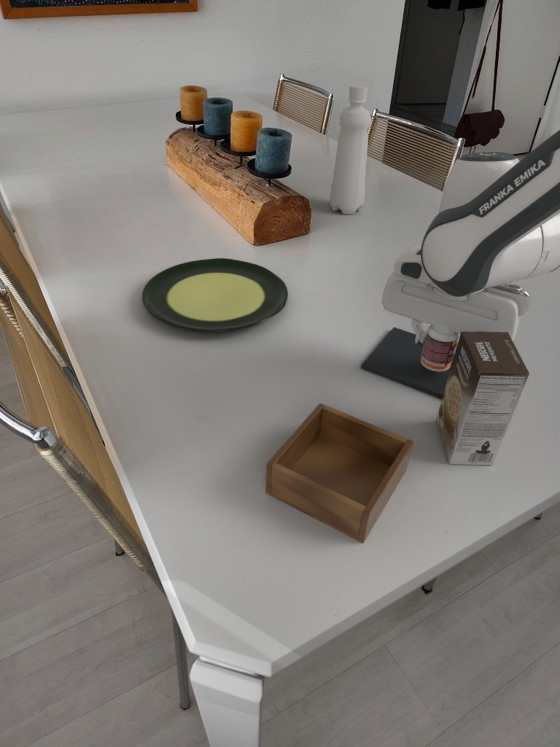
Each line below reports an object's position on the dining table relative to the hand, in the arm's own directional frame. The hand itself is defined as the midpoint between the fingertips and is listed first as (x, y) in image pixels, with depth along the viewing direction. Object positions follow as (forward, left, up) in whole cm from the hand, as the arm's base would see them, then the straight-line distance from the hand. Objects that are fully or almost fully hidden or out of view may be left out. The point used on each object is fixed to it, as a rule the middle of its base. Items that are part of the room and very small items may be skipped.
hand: (438, 348), depth 86 cm
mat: (+1, -2, -5) cm, 6 cm away
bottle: (+45, -58, -6) cm, 73 cm away
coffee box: (-9, +13, -6) cm, 16 cm away
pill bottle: (0, 0, -3) cm, 3 cm away
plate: (+44, +1, -6) cm, 44 cm away
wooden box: (+3, +29, -5) cm, 29 cm away
